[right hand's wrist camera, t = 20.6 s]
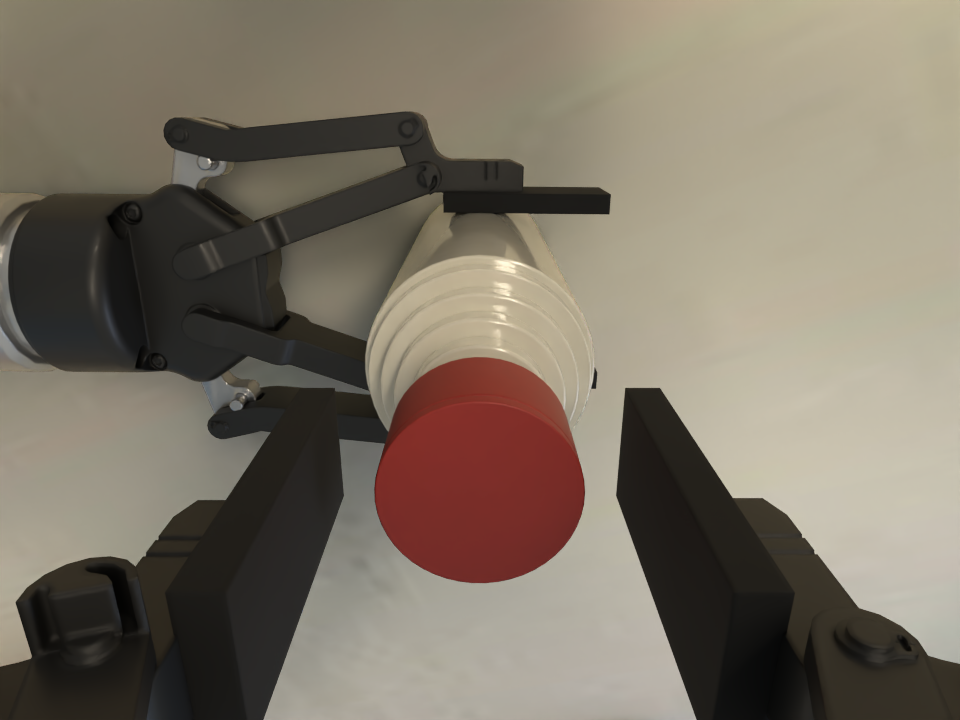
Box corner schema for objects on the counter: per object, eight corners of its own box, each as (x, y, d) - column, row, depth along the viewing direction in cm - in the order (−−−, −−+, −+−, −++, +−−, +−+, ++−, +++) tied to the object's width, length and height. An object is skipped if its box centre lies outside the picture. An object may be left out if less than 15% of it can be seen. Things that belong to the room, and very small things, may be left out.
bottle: (559, 210, 33) (695, 371, 12) (523, 330, 36) (586, 641, 15) (432, 175, 33) (346, 283, 12) (404, 300, 35) (289, 578, 14)
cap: (368, 486, 15) (349, 551, 13) (421, 330, 14) (410, 372, 12) (530, 535, 16) (539, 605, 14) (597, 389, 14) (619, 440, 12)
